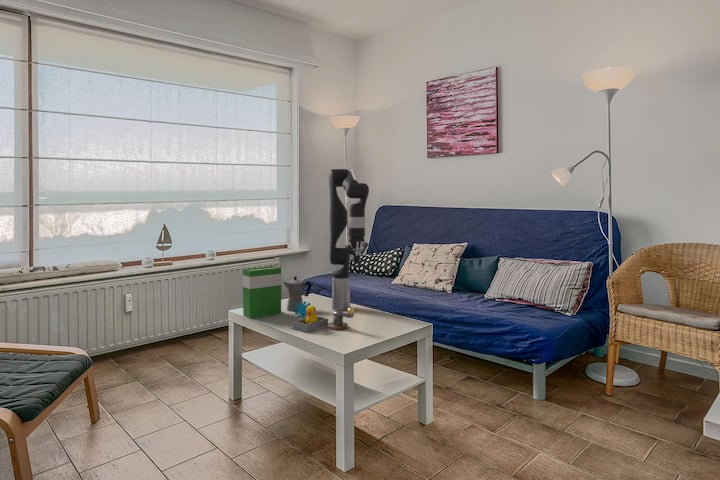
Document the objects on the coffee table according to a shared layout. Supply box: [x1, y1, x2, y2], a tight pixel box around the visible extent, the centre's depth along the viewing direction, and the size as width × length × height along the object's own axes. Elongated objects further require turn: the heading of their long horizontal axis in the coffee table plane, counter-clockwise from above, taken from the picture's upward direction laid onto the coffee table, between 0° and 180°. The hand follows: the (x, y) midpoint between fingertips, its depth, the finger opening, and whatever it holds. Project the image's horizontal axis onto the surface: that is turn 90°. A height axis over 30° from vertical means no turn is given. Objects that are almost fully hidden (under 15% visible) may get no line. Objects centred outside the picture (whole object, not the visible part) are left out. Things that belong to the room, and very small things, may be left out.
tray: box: [292, 315, 329, 333], centre depth 224 cm, size 14×9×4 cm, turn 142°
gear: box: [294, 300, 311, 319], centre depth 243 cm, size 11×6×10 cm
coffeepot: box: [283, 276, 313, 312], centre depth 257 cm, size 15×9×18 cm, turn 87°
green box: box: [242, 265, 282, 320], centre depth 245 cm, size 18×7×24 cm, turn 130°
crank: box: [332, 307, 355, 319], centre depth 221 cm, size 12×4×4 cm, turn 50°
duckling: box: [305, 304, 318, 324], centre depth 223 cm, size 11×5×10 cm, turn 172°
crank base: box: [327, 315, 349, 331], centre depth 224 cm, size 9×9×6 cm
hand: (356, 263), depth 224 cm, fingers closed
